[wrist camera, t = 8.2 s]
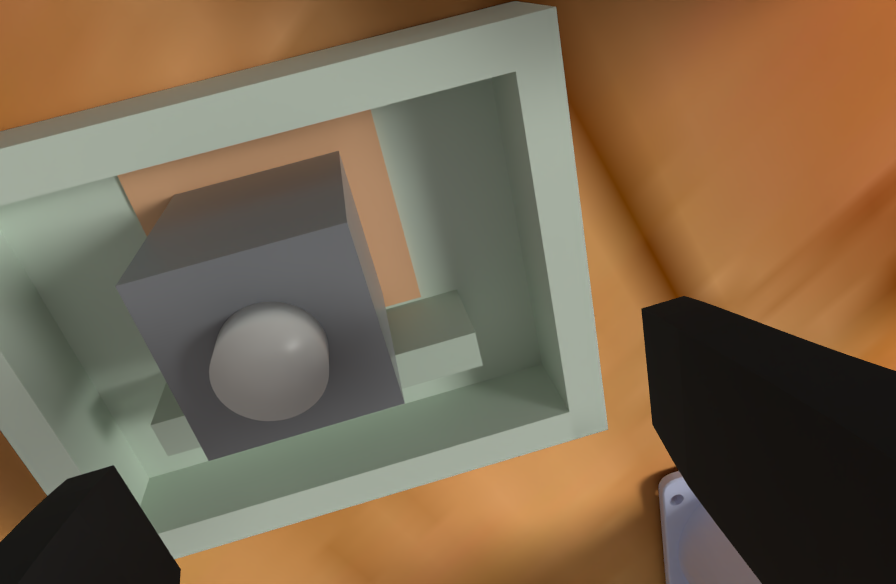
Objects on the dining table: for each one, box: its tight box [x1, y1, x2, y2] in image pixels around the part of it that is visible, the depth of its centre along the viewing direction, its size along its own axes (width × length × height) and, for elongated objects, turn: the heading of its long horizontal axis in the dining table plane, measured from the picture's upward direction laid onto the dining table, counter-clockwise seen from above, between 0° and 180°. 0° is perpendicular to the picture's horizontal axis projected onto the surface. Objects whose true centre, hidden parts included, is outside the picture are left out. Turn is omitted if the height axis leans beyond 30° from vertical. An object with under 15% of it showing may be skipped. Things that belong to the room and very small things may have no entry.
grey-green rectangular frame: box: [0, 1, 608, 559], centre depth 16 cm, size 11×14×3 cm
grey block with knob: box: [115, 151, 405, 461], centre depth 14 cm, size 4×4×6 cm
